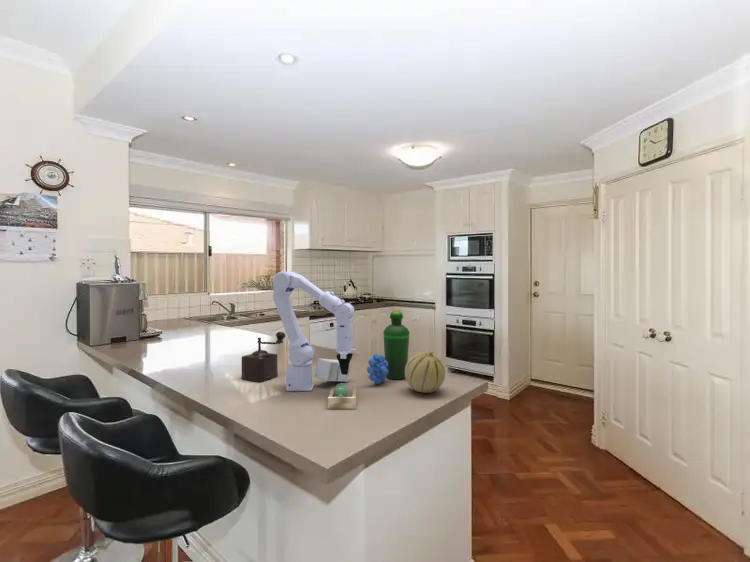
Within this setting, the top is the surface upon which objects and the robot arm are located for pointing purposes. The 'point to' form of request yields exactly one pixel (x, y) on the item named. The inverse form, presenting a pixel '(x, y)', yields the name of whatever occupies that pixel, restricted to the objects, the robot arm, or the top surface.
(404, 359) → the bottle
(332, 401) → the beech rest
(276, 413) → the top surface
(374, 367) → the grapes
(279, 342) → the manual coffee grinder
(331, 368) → the supplement box
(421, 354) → the cantaloupe
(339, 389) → the green bottle
